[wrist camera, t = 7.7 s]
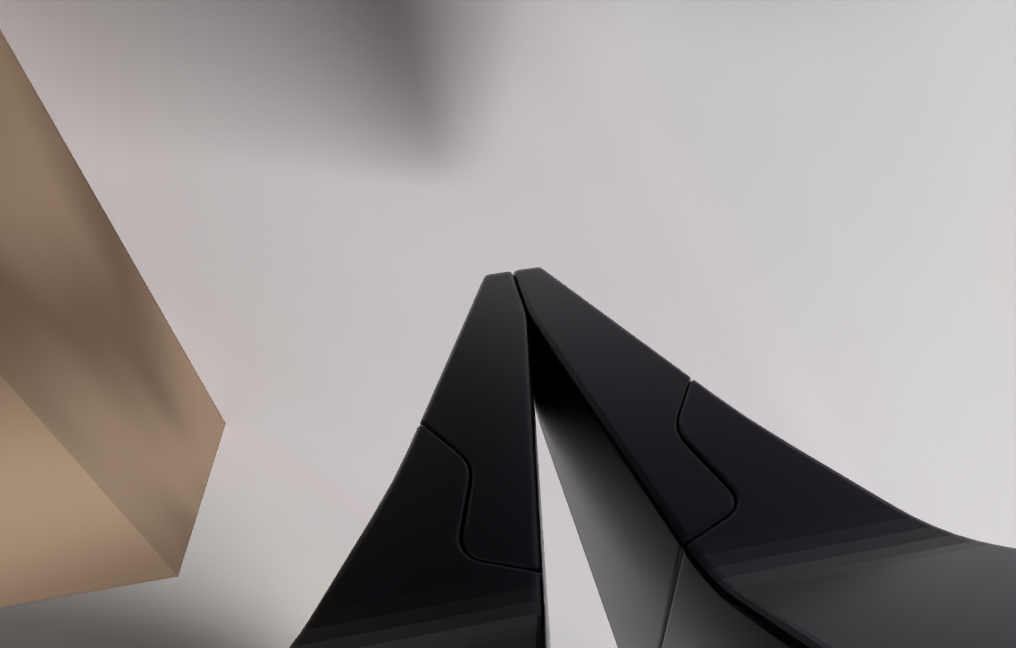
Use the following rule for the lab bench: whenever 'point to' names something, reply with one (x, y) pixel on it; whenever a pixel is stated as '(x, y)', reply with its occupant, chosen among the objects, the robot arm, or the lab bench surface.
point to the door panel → (84, 383)
